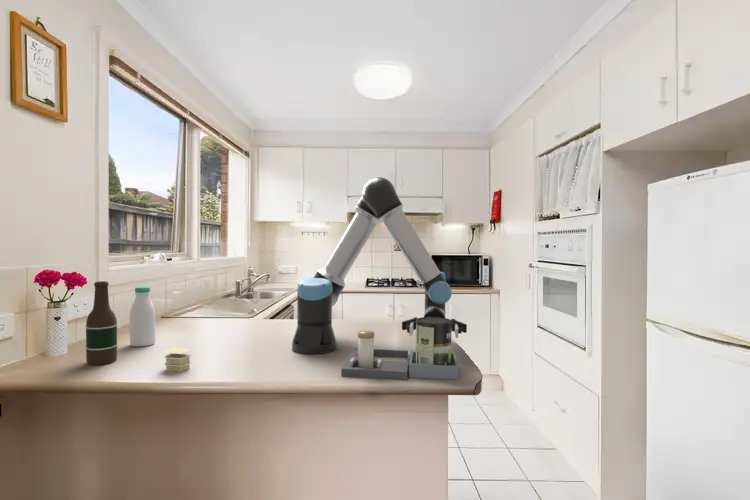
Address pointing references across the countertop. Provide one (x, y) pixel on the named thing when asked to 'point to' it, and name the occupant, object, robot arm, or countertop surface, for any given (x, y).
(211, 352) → the countertop surface
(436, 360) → the coffee can
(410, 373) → the tray
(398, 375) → the grey holder base
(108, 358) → the beer bottle
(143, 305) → the milk bottle
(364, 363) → the spice jar
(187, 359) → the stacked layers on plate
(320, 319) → the robot arm
